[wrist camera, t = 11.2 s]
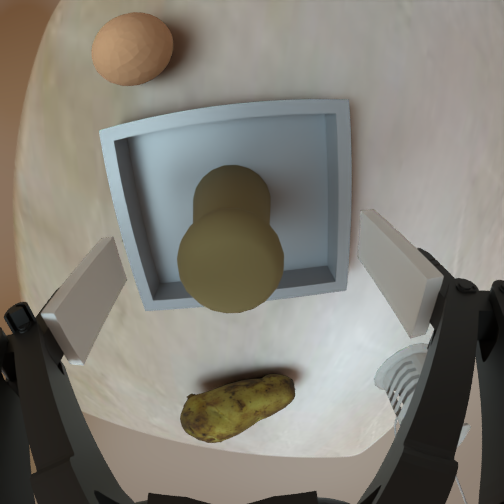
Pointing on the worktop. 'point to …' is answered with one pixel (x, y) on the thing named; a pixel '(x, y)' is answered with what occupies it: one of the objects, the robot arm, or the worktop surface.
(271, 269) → the cork
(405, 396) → the french press
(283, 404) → the potato
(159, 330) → the worktop surface
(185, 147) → the grey bin
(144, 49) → the egg
